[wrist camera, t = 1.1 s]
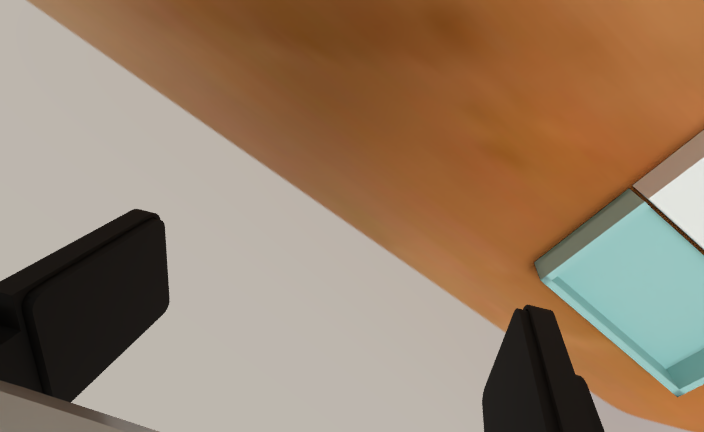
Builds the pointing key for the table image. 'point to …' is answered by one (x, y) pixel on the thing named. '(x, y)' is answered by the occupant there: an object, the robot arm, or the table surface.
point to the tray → (636, 288)
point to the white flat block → (680, 188)
